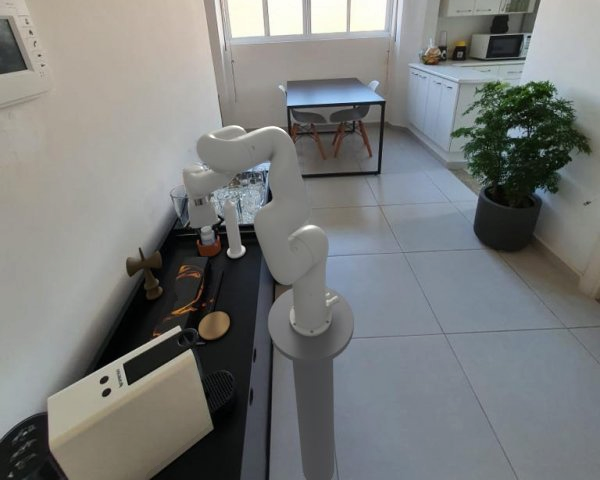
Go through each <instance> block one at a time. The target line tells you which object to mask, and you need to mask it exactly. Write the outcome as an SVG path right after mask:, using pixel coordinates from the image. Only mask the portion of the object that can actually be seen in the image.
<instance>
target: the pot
mask: <svg viewBox="0 0 600 480" xmlns="http://www.w3.org/2000/svg"><path fill="white" fill-rule="evenodd" d="M217 237H218V239H216V242H215V243H213V244H211V245H207V246H203V244H202V242H201V243H200V242H199V240H197V239H196V246H197V249H198V253H199V255H200V256H201V257H203V256H209V257H208V258H210V257H214V256H216V255H217V254H219V253H220V252H221V249H222V245H221V239H220V235H218V236H217Z"/></svg>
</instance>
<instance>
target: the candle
mask: <svg viewBox="0 0 600 480" xmlns="http://www.w3.org/2000/svg"><path fill="white" fill-rule="evenodd" d="M221 207H222V213H223V216H224V219H225V221H224V224H225V230H226V235H227V240H228V246H229V248H228V249H227V251H226V255H227V256H228V257H229V258H231V259H239V258H241V257H242V256H244V255H245V253H246V247H245V246H244V245H242V240H241V233H240V228H239V222H238V216H237V209H236V204H235V202H233V201H230V198H229V196H226V199H225V202H224V203H223V204H222V205H221Z"/></svg>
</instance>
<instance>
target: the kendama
mask: <svg viewBox="0 0 600 480" xmlns="http://www.w3.org/2000/svg"><path fill="white" fill-rule="evenodd" d="M138 253H139V257H140V258H135V257H132V256H128V257H127V258H126V260H125V269H126V274H127V276H128V277H129V278H132V277H134V276H135V275H136V274H137V273H138V272H139V271H141V270H143V271H144V276H145V277H144V279H145V283H144V285H143V289H144V290H146V294H145V298H146V300H150V301H152V300H156V299H158V298H159V297H161V296H162V294H163V288H162V287H161V286H159V284H160V280H159V279H158V278H155V277H154V275H153V273H152V271H151V269H152V268H153V269H157V270H161V268H162V266H163V260H162V255H161V252H160V251H159V250H156V251H155V252H154V253H152V254H150V256H148V257H145V255H144V252H143V250H142V247H140V246H139V247H138ZM150 268H151V269H150Z"/></svg>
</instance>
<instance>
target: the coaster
mask: <svg viewBox="0 0 600 480" xmlns="http://www.w3.org/2000/svg"><path fill="white" fill-rule="evenodd" d="M230 325H231V321H230V317H229V315H228V314H227V313H226V312H224V311H213V312H210V313H208V314H207V315H205V316H204V317H203V318H202V319H201V321H200V322H199V324H198V334H199V336H200V337H201V338H202V339H204V340H207V341H213V340H217V339H219V338H221V337H222V336H224V335H225V334H226V333H227V331H228V330H229V329H230Z"/></svg>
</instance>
